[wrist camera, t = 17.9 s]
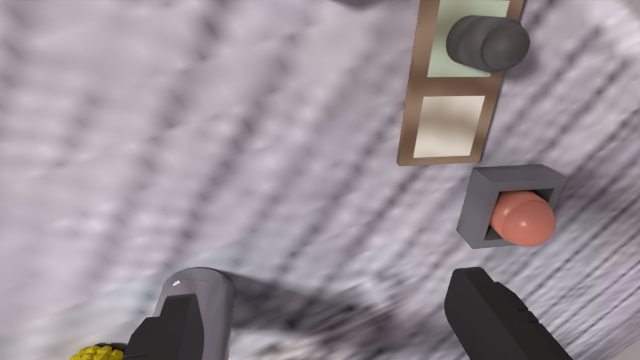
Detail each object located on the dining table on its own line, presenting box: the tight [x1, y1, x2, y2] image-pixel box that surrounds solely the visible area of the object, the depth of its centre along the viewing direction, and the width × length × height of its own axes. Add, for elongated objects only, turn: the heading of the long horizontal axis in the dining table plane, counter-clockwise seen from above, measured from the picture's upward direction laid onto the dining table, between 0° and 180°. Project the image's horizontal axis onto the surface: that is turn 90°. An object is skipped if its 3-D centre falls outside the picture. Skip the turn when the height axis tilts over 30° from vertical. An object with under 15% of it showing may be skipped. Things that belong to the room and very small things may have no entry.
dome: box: [489, 190, 556, 247], centre depth 39 cm, size 6×6×6 cm
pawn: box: [446, 15, 530, 73], centre depth 29 cm, size 4×4×7 cm
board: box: [397, 0, 524, 166], centre depth 35 cm, size 18×10×1 cm, turn 179°
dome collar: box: [457, 164, 567, 249], centre depth 42 cm, size 10×10×4 cm
